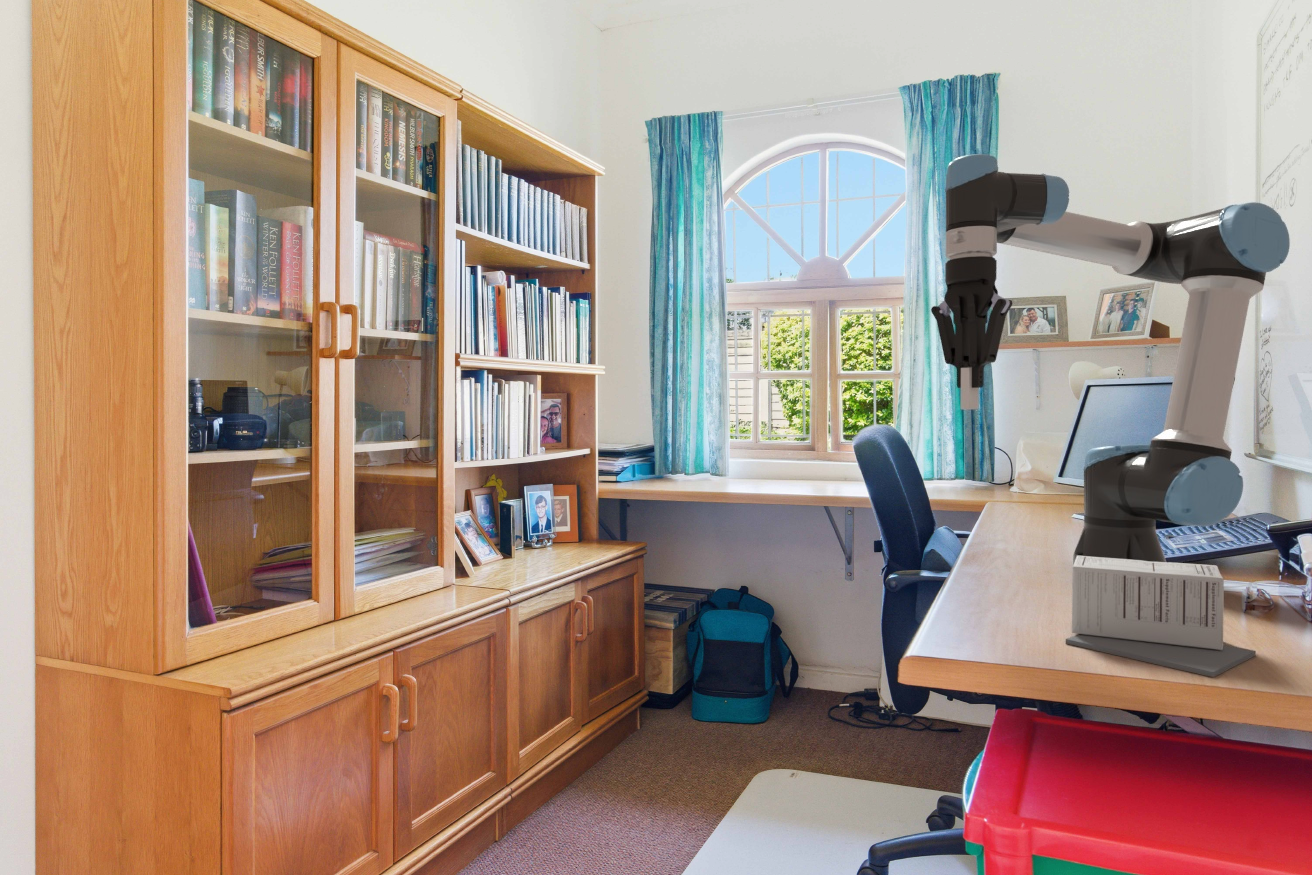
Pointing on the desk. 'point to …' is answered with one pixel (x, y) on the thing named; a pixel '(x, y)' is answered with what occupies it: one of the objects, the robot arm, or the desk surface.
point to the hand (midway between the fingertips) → (969, 409)
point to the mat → (1168, 653)
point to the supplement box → (1148, 601)
